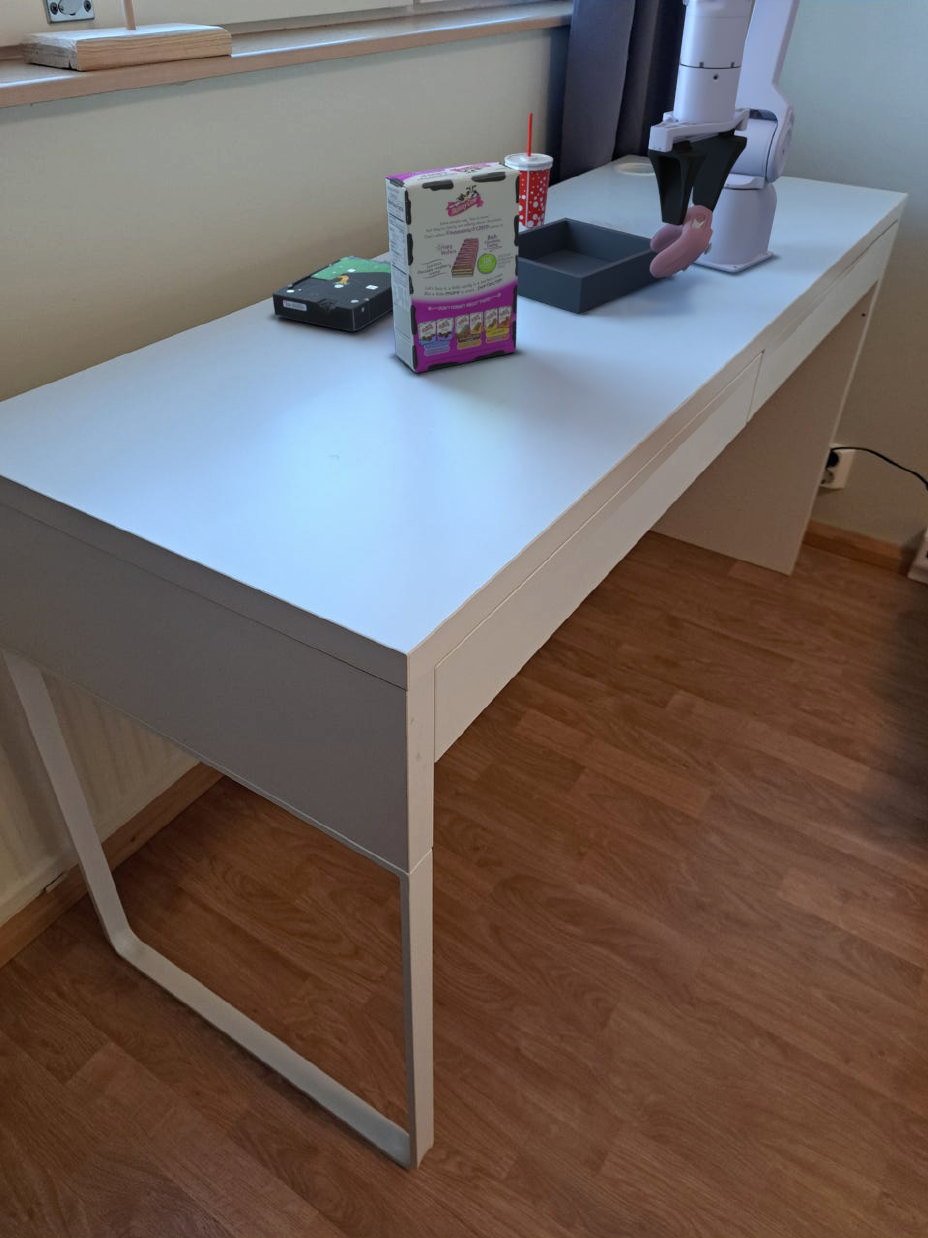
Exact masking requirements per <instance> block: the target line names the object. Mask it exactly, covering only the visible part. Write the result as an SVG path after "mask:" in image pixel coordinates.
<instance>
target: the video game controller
mask: <svg viewBox="0 0 928 1238" xmlns="http://www.w3.org/2000/svg"><path fill="white" fill-rule="evenodd" d="M712 219H713V214H712V211H711V210H709V209H708V208H706V207H704V206H701V205H696V206H695V205H694V203H692V202H691V205H690V206H689V207H688V209H687V213H686V216H685V219H684V222H683V224H682V225H680V226H676V225H672V224H668V223H666V225H664V226H663V227H661V228H660V229H658V230H657V231H656V232H655V233H654V235H653V236H652V238H651V239H652V240H651V243H650V246H651V249H652V250H653V251H654V252H656V253H659V254H658V255H657V256H656V257H655V258H654V259H653V261H652V262H651V265H650V272H651V274H652V275H653V276H654V277H656V278H661V277H667V278H668V277H671V276H674V275H676V274H678V273H679V272H681V271H682V272H686V271H687V270H688V268H689V267H691V265H692V264H694V263H693V262H695V261H696V260H697V259H698V258H699V257H700V256H701V254H702V253H703V252H704V251H705V252H704V255H706V254H707V253H709V252H710V250H711V248H712V243H710V244H709V241H710V239H711V236H712V234H713V230H712V229H711V224H712Z"/></svg>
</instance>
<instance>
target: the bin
mask: <svg viewBox="0 0 928 1238" xmlns="http://www.w3.org/2000/svg"><path fill="white" fill-rule="evenodd" d="M651 240H652V238H650V237H645V236H641V235H637V234H633V233H629V232H625V231H621V230H618V229H613V228H609V227H606V226H601V225H598V224H593V223H589V222H585V221H580V220H576V219H573V218H569V217H563V218H561V219H557V220H553V221H550V222H548V223H544V225H541V226H538V227H535V228H531V229H528V230H525V231H522V232H519V239H518V283H517V296H518V295H519V296H522V297H525V298H527V299H531V300H534V301H537V302H539V303H540V302H541V303H544V304H547V305H549V306H553V307H556V308H560V309H562V310H565V311H568V312H572V313H575V314H578V315H580V314H582V313H585V312H587V311H589V310H592V309H594V308H596V307H599V306H602V305H603V304H607V303H609V302H611V301H614V300H616V299H618V298H621V297H624V296H625V295H628V294H631V293H633V292H635V291H638V290H640V289H642V288H645V287H647V286H650V285H653V284H655V283H657V282H660V281H662V280H664V279H666V278H668V277H661V278H656V277H654V276H653V275H652V274H651V272H650V265H651V262H652V261H653V259H654V258H655V257H656V256H657V255H658V254H659V253H656V252H654V251H653V250H652V249H651V246H650V243H651Z"/></svg>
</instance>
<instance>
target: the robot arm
mask: <svg viewBox="0 0 928 1238" xmlns="http://www.w3.org/2000/svg"><path fill="white" fill-rule="evenodd" d="M800 2H801V0H755V1H754V5H753V10H752V4H753V0H682V4H683V5H685V6H686V9H685V16H684V25H683V32H682V41H681V47H680V56H679V65H678V71H677V72H678V73H677V81H676V89H675V95H674V96H675V97H674V104H673V110H671V111H667V112H664V113H663V117H662V121H661V122H660V123H658V124H656V125H651V127H650V132H649V141H648V147H647V157H648V159H649V161H650V163H651V166H652V169H653V172H654V176H655V178H656V183H657V188H658V195H659V205H660V215H661V222H662V223H664V224H672V225H676V226H680V225H682V224H683V222H684V219H685V216H686V213H687V209H688V208H689V204H690V200H691V204H692V203H694V205H695V206H696V205H701V206H704V207H706V208H708V209H709V210H711V211H712V214H713V219H712V224H711V229H712V230H713V234H712V236H711V239H710V241H709V244H710V243H712V248H711V250H710V252H709V253H707V254H706V255H704V252H705V251H704V252H703V253H702V254H701V256H700V257H699V258H698V259H697V260H696V261H695V262H693V263H692V264H696V265H701V266H704V267H709V268H712V269H716V270H720V271H724V272H727V273H732V274H734V273H735V274H736V273H738V272H740V271H742V270H745V269H748V268H749V267H752V266H754V265H756V264H758V263H761V262H763V261H765V260H768V259H770V258H772V257H774V254H775V253H774V251H771V250H769V246H770V245H769V244H770V239H771V234H772V229H773V225H774V220H775V215H776V209H777V205H778V204H777V203H778V195H777V191H776V189H775V186H774V184H773V183H775V182H776V181H777V180H778V179H779V178H781V176H782V175H783V172H784V170H785V168H786V165H787V162H788V158H789V155H790V150H791V146H792V145H791V144H792V137H793V129H794V125H795V121H796V114H795V108H794V105H793V104H792V103H791V101H790V100H789V99H788V97H786V95H785V94H784V93H783V92H782V91H781V90H780V88H779V84H780V79H781V76H782V72H783V68H784V65H785V61H786V56H787V54H788V49H789V45H790V41H791V37H792V33H793V30H794V26H795V22H796V17H797V15H798V10H799V8H800V7H799V6H800ZM751 10H752V13H751ZM750 16H751V17H750ZM691 195H692V196H691ZM691 197H692V198H691Z"/></svg>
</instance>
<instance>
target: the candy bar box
mask: <svg viewBox="0 0 928 1238" xmlns="http://www.w3.org/2000/svg"><path fill="white" fill-rule="evenodd" d="M384 183H385V198H386V212H387V213H386V214H387V228H388V229H387V231H388V247H389V249H388V251H389V258H390V259H389V261H390V262H391V284H392V296H393V308H392V311H393V312H392V313H393V326H394V328H393V329H394V330H393V331H394V345H395V356H396V357H397V358H398V360H400V361H401V362H402V363H404V364H405V365H406V366H407V367H408V369H410V370H412V371H413V372H414V373H423V372H428V371H432V370H437V369H442V368H447V367H451V366H456V365H461V364H465V363H469V362H475V361H480V360H483V359H487V358H493V357H497V356H502V355H506V354H510V353H511V354H512V353H514V352H516V351H517V324H518V323H517V319H518V314H517V313H518V294H517V283H518V239H519V196H520V171H518V170H515V169H513V168H510V167H508V166H506V165H505V163H504V164H503V163H502V162H499V161H489V162H480V163H473V164H464V165H456V166H450V167H441V168H436V169H428V170H421V171H413V172H406V173H398V174H390V175H386V176H384Z"/></svg>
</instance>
